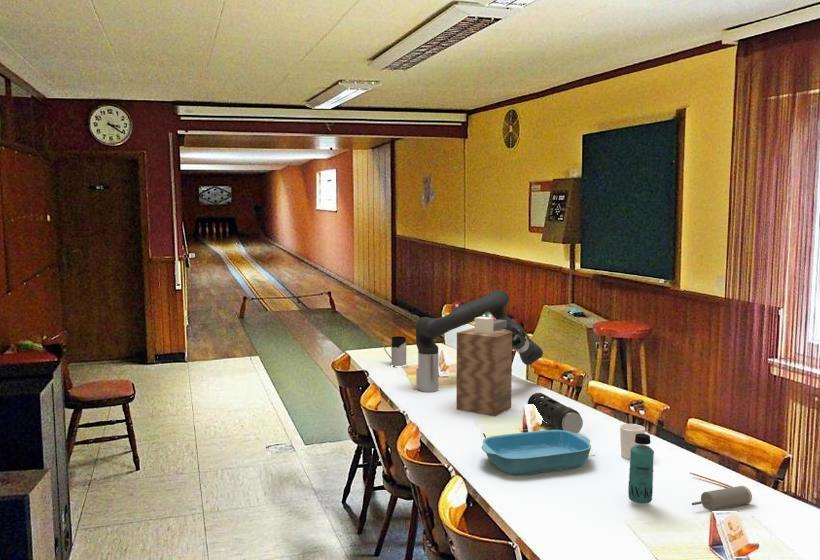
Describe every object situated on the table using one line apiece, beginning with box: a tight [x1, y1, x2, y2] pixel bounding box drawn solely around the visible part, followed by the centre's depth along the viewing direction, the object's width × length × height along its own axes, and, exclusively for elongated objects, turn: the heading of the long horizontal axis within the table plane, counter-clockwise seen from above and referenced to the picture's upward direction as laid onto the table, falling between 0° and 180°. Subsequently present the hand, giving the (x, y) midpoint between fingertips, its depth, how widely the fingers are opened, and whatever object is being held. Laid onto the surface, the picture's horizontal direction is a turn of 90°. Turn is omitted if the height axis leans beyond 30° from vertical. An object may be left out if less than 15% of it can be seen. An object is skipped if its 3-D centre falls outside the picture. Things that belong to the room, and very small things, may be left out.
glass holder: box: [382, 335, 407, 366], centre depth 373 cm, size 9×14×15 cm, turn 57°
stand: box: [455, 327, 513, 417], centre depth 290 cm, size 18×14×32 cm
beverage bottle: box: [627, 433, 655, 505], centre depth 196 cm, size 6×7×20 cm
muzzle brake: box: [527, 392, 584, 434], centre depth 266 cm, size 10×28×10 cm, turn 16°
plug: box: [473, 316, 507, 334], centre depth 294 cm, size 6×19×6 cm, turn 145°
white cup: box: [619, 423, 646, 460], centre depth 235 cm, size 8×8×10 cm
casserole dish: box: [480, 429, 592, 476], centre depth 230 cm, size 37×22×7 cm, turn 107°
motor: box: [689, 472, 753, 511], centre depth 204 cm, size 23×22×5 cm
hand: (503, 328), depth 303 cm, fingers open, 8 cm apart
